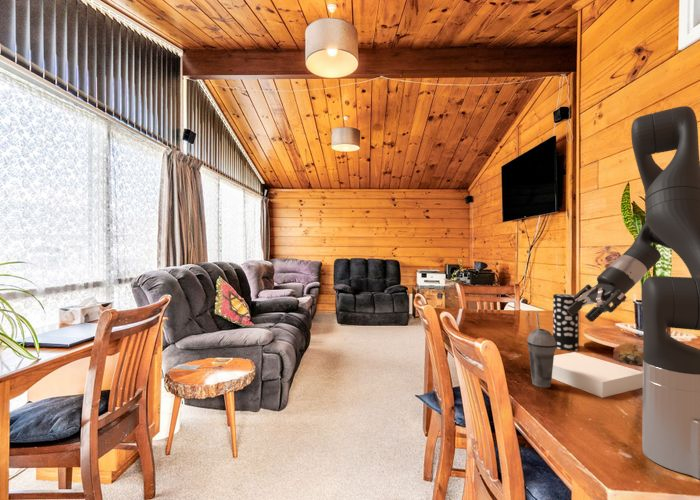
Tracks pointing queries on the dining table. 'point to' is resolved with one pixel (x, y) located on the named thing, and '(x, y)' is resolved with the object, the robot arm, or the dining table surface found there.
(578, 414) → the dining table surface
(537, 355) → the beverage cup
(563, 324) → the spotted tube
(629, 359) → the bread roll
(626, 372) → the shelf board
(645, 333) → the robot arm
